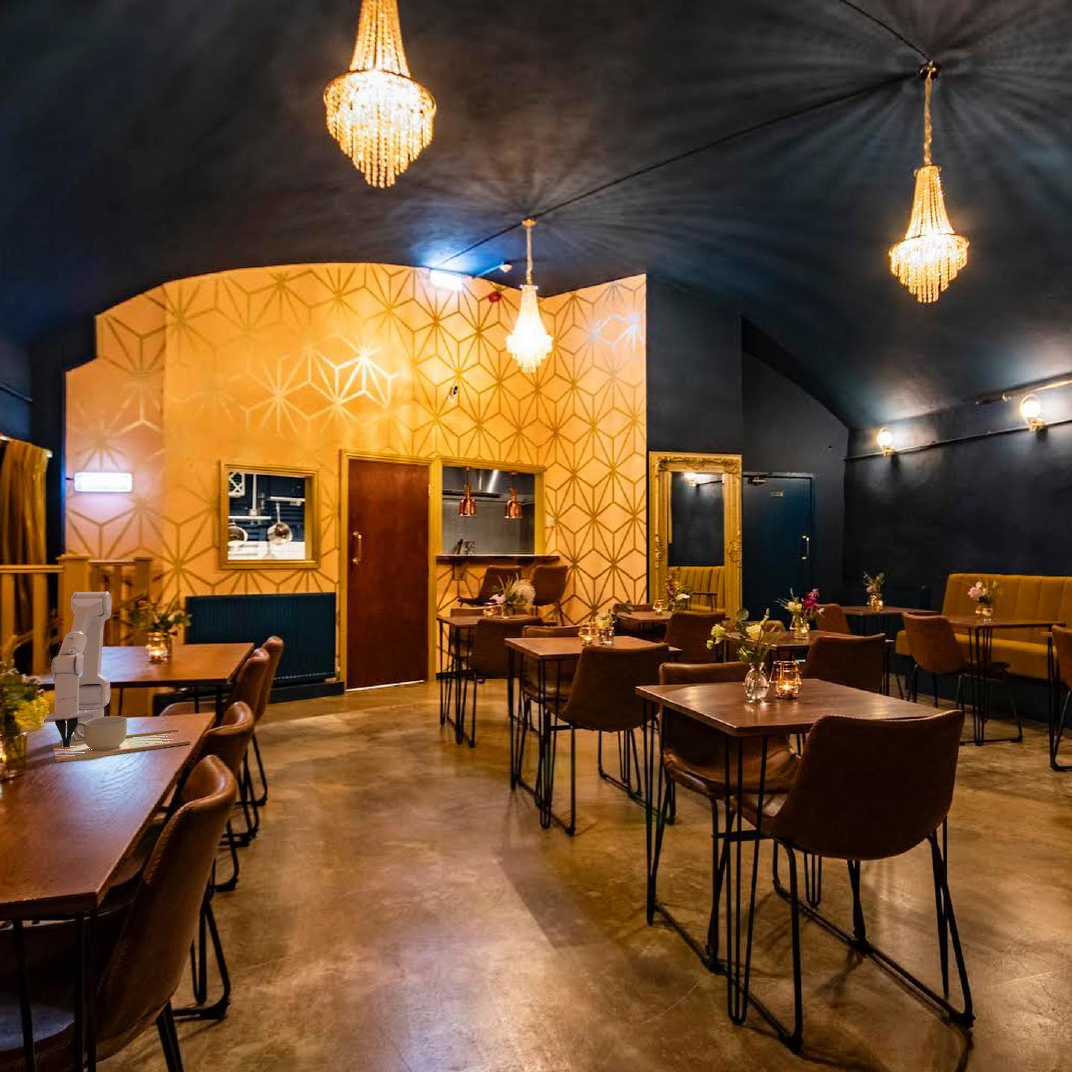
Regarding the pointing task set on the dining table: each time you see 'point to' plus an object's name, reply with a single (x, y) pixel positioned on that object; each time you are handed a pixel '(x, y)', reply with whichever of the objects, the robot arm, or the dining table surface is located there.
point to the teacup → (103, 732)
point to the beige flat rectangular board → (120, 749)
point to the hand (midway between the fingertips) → (66, 746)
